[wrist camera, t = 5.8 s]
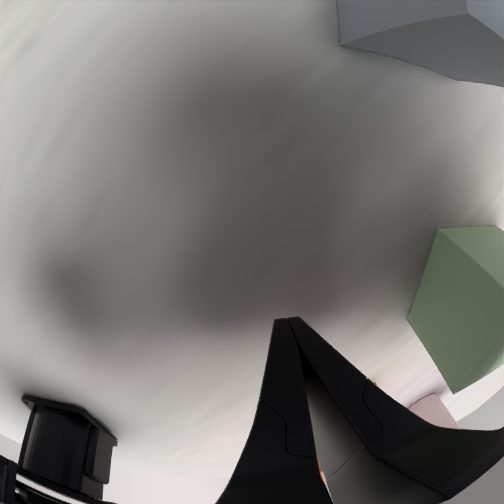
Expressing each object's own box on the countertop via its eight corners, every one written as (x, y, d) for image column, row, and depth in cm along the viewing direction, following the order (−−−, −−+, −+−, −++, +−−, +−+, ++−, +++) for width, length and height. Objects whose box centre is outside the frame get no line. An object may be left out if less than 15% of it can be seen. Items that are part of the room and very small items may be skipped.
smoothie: (423, 389, 18) (477, 514, 6) (456, 381, 19) (506, 482, 7) (380, 425, 21) (419, 536, 9) (418, 415, 22) (456, 509, 10)
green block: (405, 317, 12) (453, 394, 8) (435, 227, 9) (517, 302, 5) (465, 300, 12) (510, 358, 8) (494, 224, 10) (558, 278, 6)
